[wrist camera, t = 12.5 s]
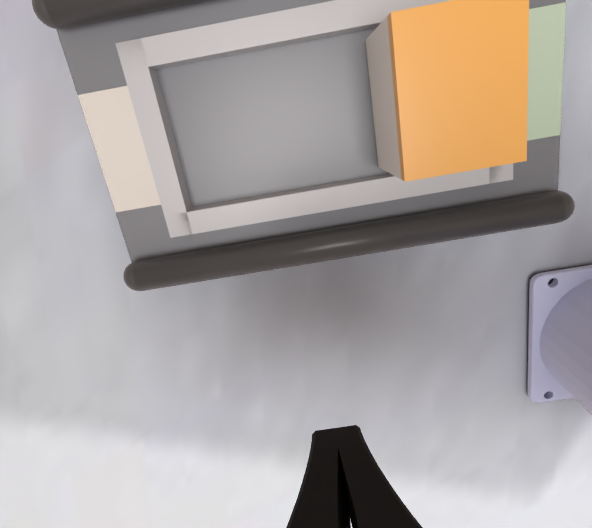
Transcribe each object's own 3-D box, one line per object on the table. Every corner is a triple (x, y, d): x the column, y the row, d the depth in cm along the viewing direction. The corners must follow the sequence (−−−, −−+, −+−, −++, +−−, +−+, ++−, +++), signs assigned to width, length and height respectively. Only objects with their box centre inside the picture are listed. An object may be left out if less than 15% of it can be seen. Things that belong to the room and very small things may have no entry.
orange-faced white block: (467, 20, 16) (529, -15, 12) (470, 150, 18) (526, 160, 13) (365, 39, 16) (390, 12, 12) (378, 166, 18) (405, 181, 14)
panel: (551, -103, 16) (603, -148, 14) (542, 215, 21) (580, 230, 18) (58, -3, 17) (14, -26, 15) (147, 280, 22) (126, 303, 19)
